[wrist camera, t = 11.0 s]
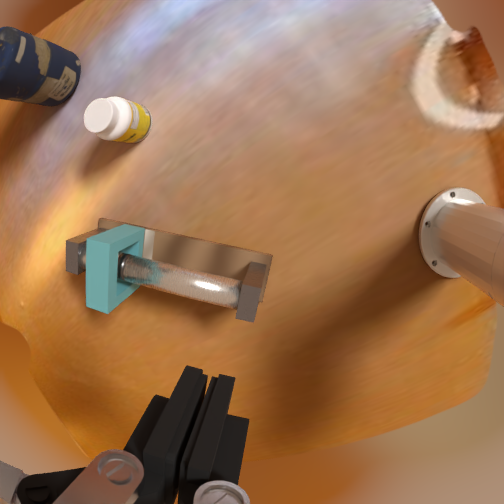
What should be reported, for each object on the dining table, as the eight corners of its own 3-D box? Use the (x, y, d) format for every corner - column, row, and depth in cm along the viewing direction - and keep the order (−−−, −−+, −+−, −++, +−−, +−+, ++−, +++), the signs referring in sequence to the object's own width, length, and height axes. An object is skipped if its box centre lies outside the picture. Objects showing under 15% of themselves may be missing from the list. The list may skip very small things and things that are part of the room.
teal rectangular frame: (145, 228, 38) (109, 244, 29) (139, 286, 40) (107, 313, 31) (124, 223, 38) (86, 238, 29) (120, 281, 40) (86, 306, 32)
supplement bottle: (117, 143, 39) (76, 139, 29) (121, 106, 37) (81, 94, 28) (151, 143, 38) (114, 138, 29) (156, 104, 37) (120, 89, 28)
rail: (267, 262, 41) (261, 288, 32) (260, 291, 42) (253, 322, 33) (103, 226, 42) (66, 240, 33) (102, 252, 43) (65, 271, 34)
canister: (44, 63, 36) (-32, 42, 19) (87, 44, 35) (10, 9, 18) (41, 114, 39) (-42, 106, 21) (84, 98, 37) (-3, 78, 20)
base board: (272, 254, 40) (272, 256, 40) (262, 299, 42) (262, 302, 41) (101, 217, 42) (98, 218, 41) (99, 259, 43) (96, 261, 43)
